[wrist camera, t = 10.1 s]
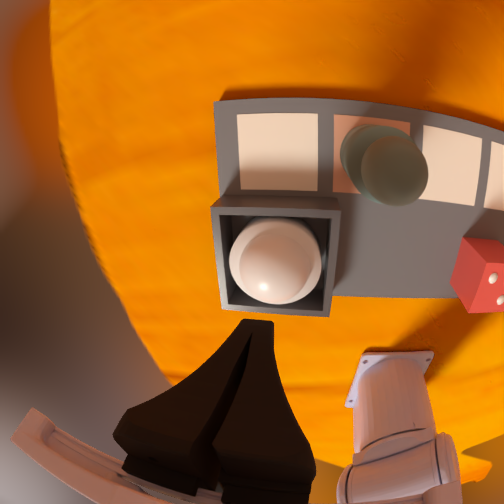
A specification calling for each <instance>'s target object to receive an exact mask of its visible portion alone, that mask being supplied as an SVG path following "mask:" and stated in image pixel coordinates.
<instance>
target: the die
mask: <svg viewBox="0 0 504 504" xmlns="http://www.w3.org/2000/svg"><path fill="white" fill-rule="evenodd" d="M450 284H451V286H452V287H453V289H454V291H455V292H456V294H457V295H458V297H459V299H460V300H461V302H462V304H463V305H464V307H465V309H466V310H467V312H468V313H485V312H502V311H504V246H503V245H502V244H501V243H500V242H499V241H498V240H490V239H480V238H469V237H462V240H461V244H460V248H459V252H458V256H457V259H456V263H455V266H454V270H453V273H452V276H451V280H450Z"/></svg>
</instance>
